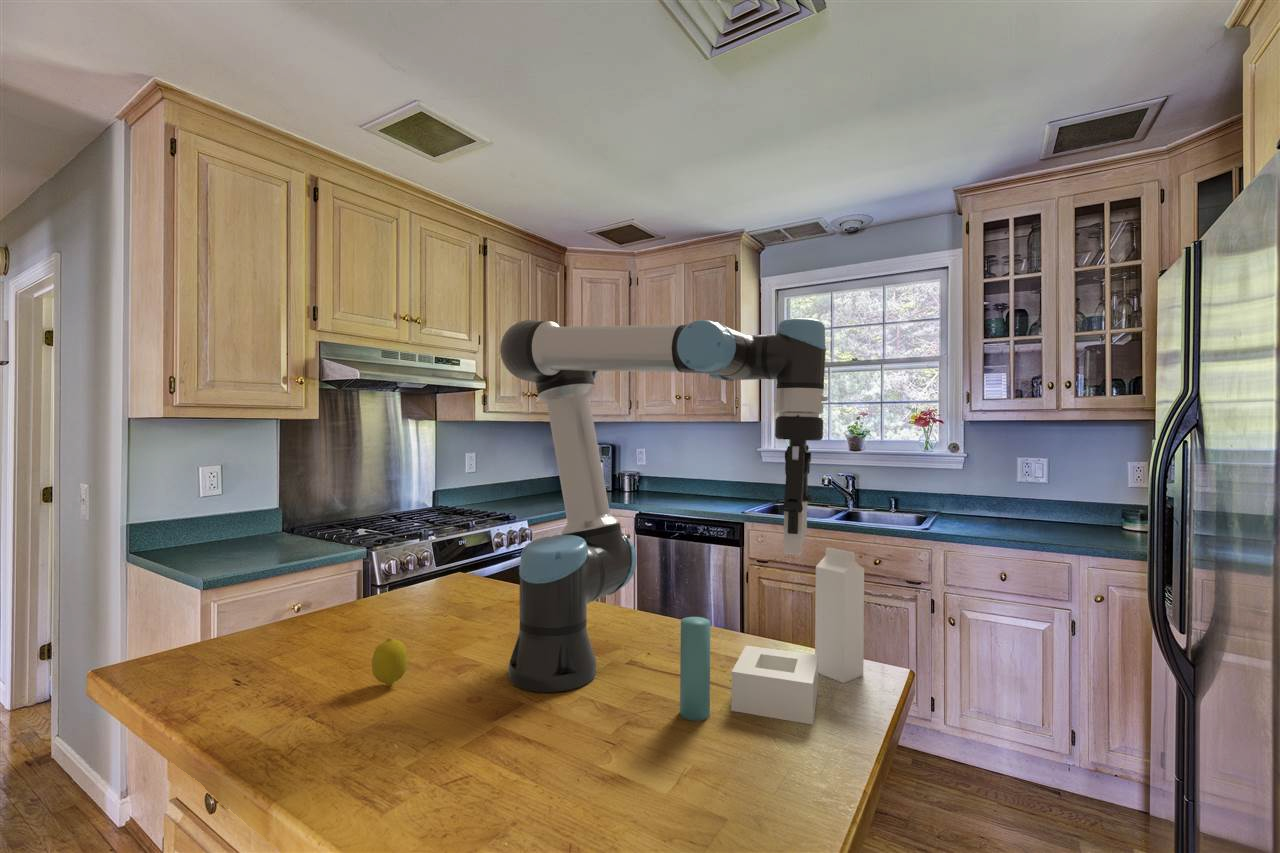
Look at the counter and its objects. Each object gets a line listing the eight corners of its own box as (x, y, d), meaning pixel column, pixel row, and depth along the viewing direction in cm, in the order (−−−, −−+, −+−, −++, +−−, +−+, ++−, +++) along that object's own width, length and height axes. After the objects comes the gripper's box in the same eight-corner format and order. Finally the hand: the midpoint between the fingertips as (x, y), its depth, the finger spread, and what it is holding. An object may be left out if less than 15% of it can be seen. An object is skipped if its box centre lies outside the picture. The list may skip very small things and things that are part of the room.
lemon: (414, 682, 102) (415, 635, 102) (388, 695, 97) (389, 645, 97) (390, 676, 104) (391, 630, 104) (363, 689, 99) (364, 640, 99)
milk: (843, 684, 103) (844, 555, 103) (814, 672, 108) (814, 549, 108) (864, 675, 106) (865, 550, 106) (834, 664, 111) (835, 545, 111)
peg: (676, 717, 90) (677, 624, 90) (684, 704, 94) (685, 615, 94) (705, 723, 88) (706, 627, 88) (712, 709, 93) (713, 618, 93)
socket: (731, 710, 92) (731, 671, 92) (745, 680, 104) (745, 645, 104) (812, 724, 88) (812, 683, 88) (818, 691, 100) (818, 655, 100)
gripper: (821, 414, 85) (816, 565, 85) (825, 417, 108) (821, 535, 108) (767, 413, 87) (762, 559, 87) (782, 416, 111) (779, 531, 111)
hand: (795, 546), depth 98 cm, fingers open, 13 cm apart
